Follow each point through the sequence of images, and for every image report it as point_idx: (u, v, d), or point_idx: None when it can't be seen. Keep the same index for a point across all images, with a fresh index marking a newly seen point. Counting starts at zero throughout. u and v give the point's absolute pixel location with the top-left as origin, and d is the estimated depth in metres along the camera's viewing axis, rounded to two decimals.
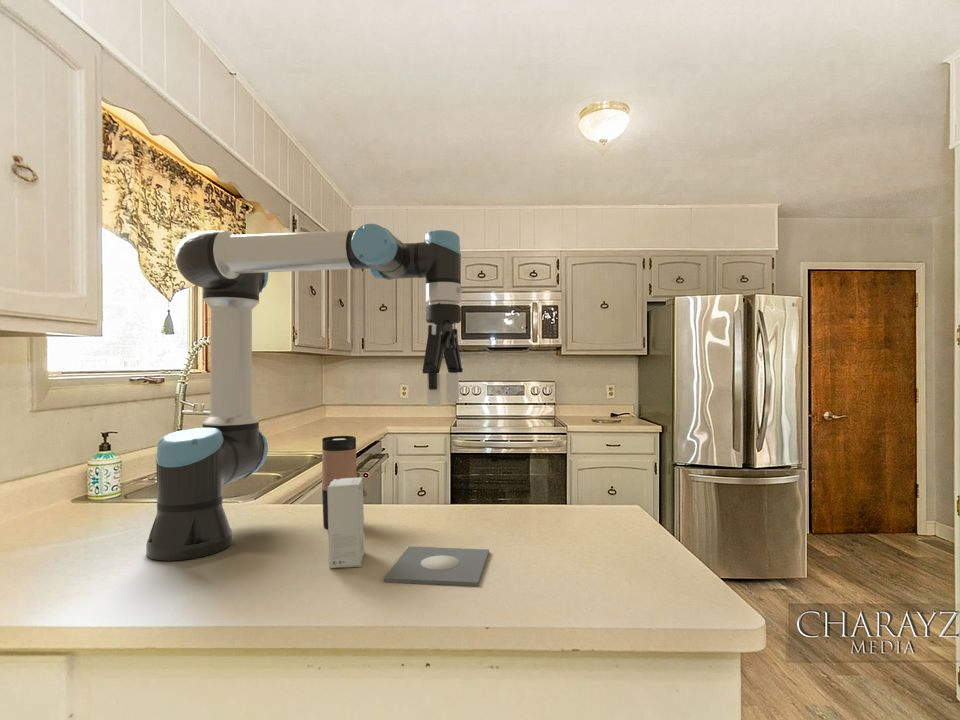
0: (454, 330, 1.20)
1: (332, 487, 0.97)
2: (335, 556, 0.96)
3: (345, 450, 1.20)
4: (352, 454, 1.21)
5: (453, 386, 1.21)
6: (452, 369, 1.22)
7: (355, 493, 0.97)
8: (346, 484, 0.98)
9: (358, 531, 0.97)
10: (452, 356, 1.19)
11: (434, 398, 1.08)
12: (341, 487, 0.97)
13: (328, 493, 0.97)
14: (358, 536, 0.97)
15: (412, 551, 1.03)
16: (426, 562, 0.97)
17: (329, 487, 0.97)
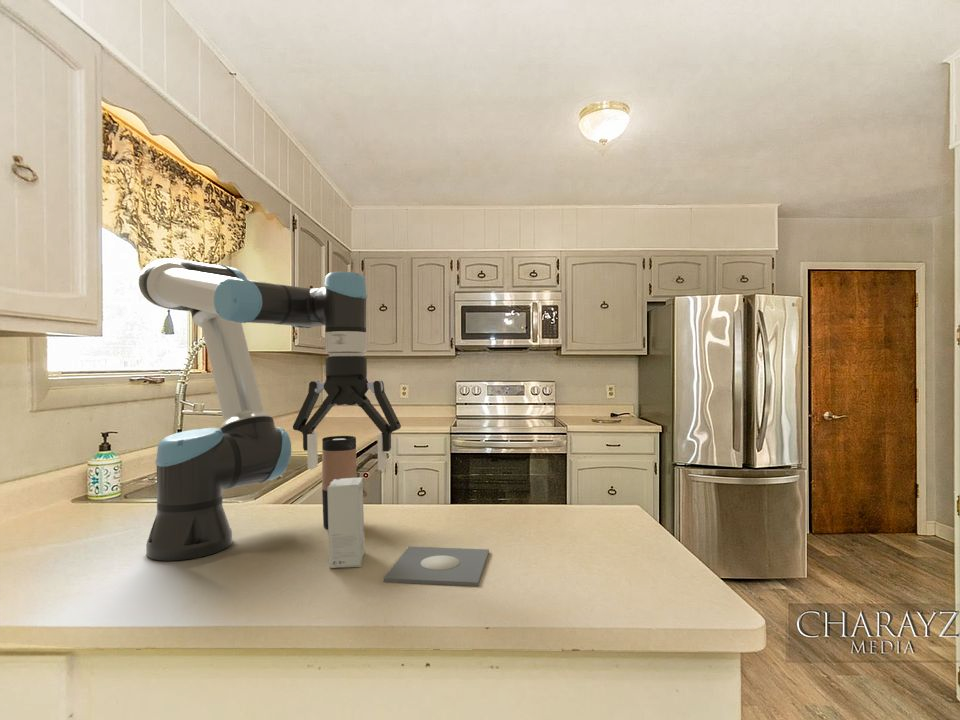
0: None
1: (332, 487, 0.97)
2: (335, 556, 0.96)
3: (345, 450, 1.20)
4: (352, 454, 1.21)
5: None
6: None
7: (355, 493, 0.97)
8: (346, 484, 0.98)
9: (358, 531, 0.97)
10: None
11: None
12: (341, 487, 0.97)
13: (328, 493, 0.97)
14: (358, 536, 0.97)
15: (412, 551, 1.03)
16: (426, 562, 0.97)
17: (329, 487, 0.97)
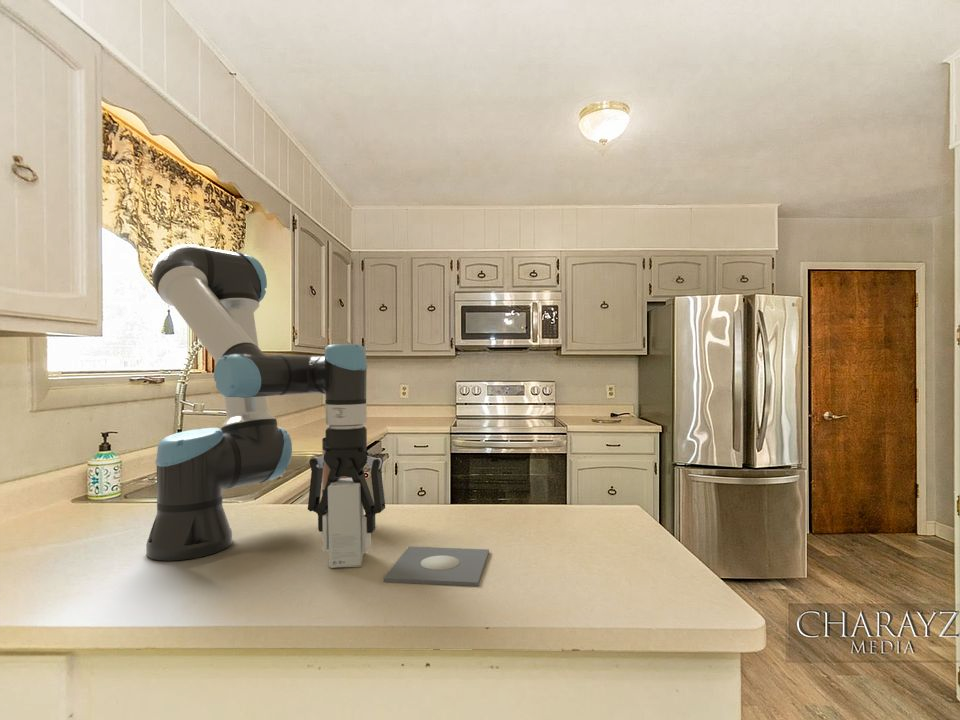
0: (374, 460, 0.99)
1: (332, 487, 0.97)
2: (335, 556, 0.96)
3: None
4: None
5: None
6: None
7: (356, 493, 0.97)
8: (346, 484, 0.98)
9: (358, 531, 0.97)
10: None
11: None
12: (341, 487, 0.97)
13: (328, 493, 0.97)
14: (358, 536, 0.97)
15: (412, 551, 1.03)
16: (426, 562, 0.97)
17: (329, 487, 0.97)
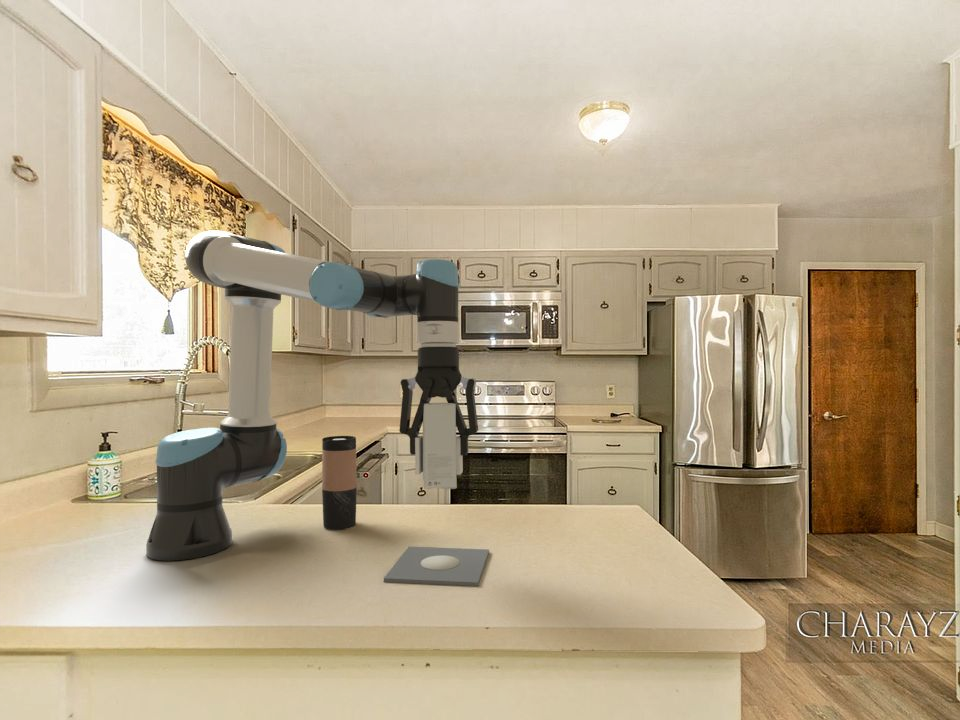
0: (469, 380, 0.96)
1: (429, 405, 0.93)
2: (431, 477, 0.93)
3: (345, 450, 1.20)
4: (352, 454, 1.21)
5: None
6: None
7: (452, 412, 0.94)
8: (442, 403, 0.94)
9: (454, 452, 0.94)
10: None
11: None
12: (437, 406, 0.94)
13: (424, 411, 0.93)
14: (454, 457, 0.94)
15: (412, 551, 1.03)
16: (426, 562, 0.97)
17: (426, 405, 0.93)
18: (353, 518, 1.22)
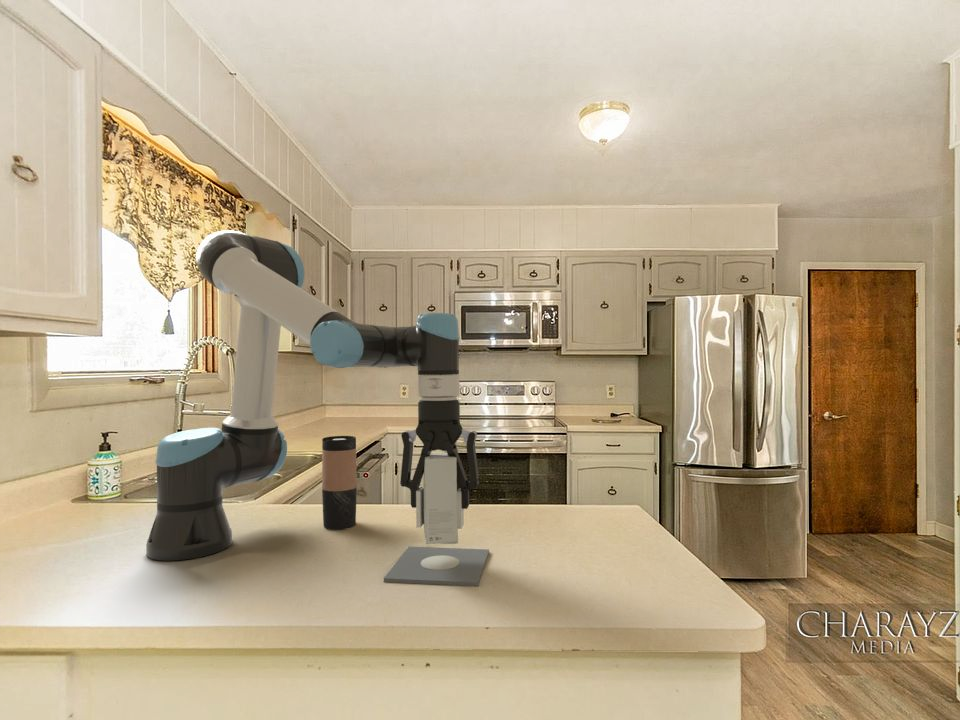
0: (469, 433, 0.96)
1: (430, 460, 0.93)
2: (432, 532, 0.93)
3: (344, 450, 1.20)
4: (352, 454, 1.21)
5: None
6: None
7: (453, 467, 0.94)
8: (443, 458, 0.94)
9: (455, 507, 0.93)
10: None
11: None
12: (438, 461, 0.93)
13: (425, 466, 0.93)
14: (455, 512, 0.93)
15: (412, 551, 1.03)
16: (426, 562, 0.97)
17: (426, 460, 0.93)
18: (353, 518, 1.22)
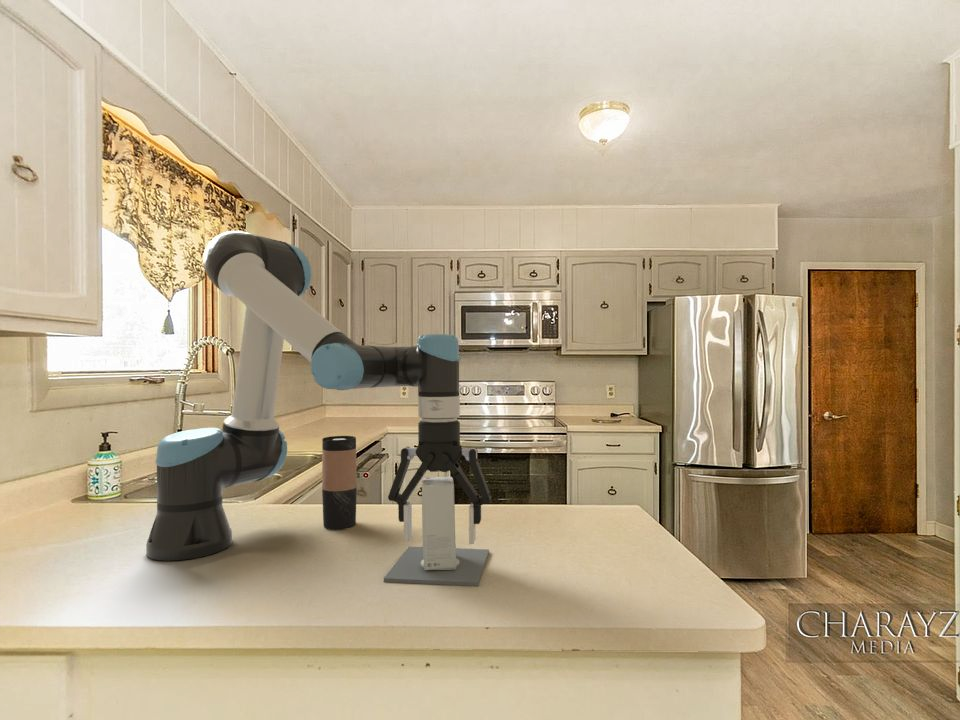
0: (469, 451, 0.96)
1: (427, 486, 0.93)
2: (430, 558, 0.93)
3: (345, 450, 1.20)
4: (353, 454, 1.21)
5: None
6: None
7: (450, 493, 0.94)
8: (440, 483, 0.94)
9: (453, 532, 0.93)
10: None
11: None
12: (436, 487, 0.93)
13: (423, 492, 0.93)
14: (453, 537, 0.93)
15: (412, 551, 1.03)
16: None
17: (424, 486, 0.93)
18: (353, 518, 1.22)
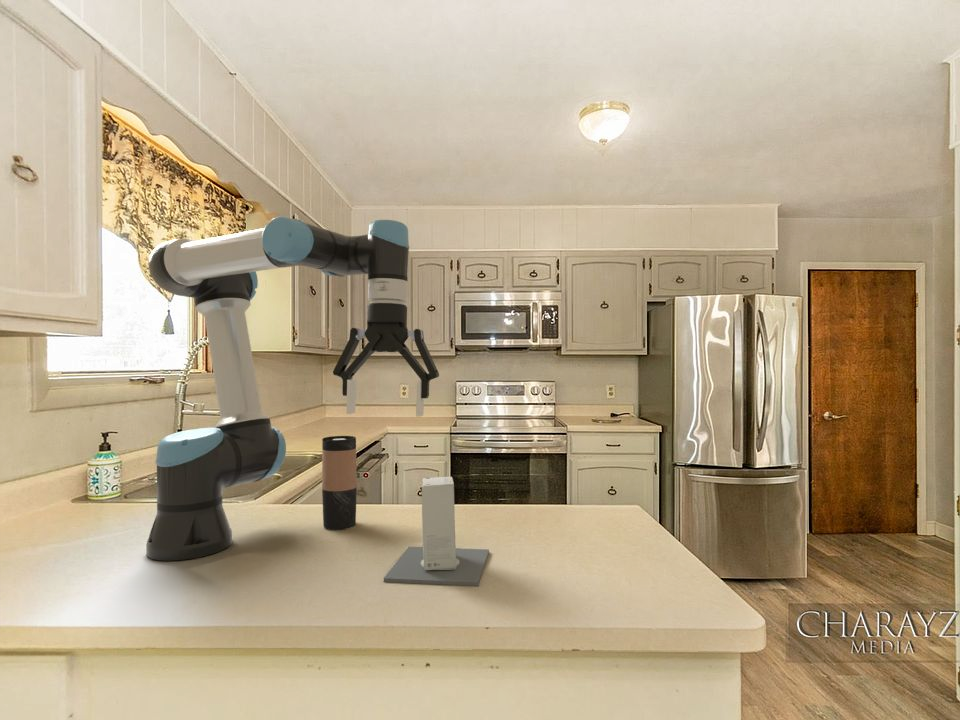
0: None
1: (427, 486, 0.93)
2: (430, 558, 0.93)
3: (345, 450, 1.20)
4: (352, 454, 1.21)
5: None
6: None
7: (450, 493, 0.94)
8: (440, 483, 0.94)
9: (453, 532, 0.93)
10: None
11: None
12: (435, 487, 0.93)
13: (422, 493, 0.93)
14: (453, 538, 0.93)
15: (412, 551, 1.03)
16: None
17: (423, 486, 0.93)
18: (353, 518, 1.22)
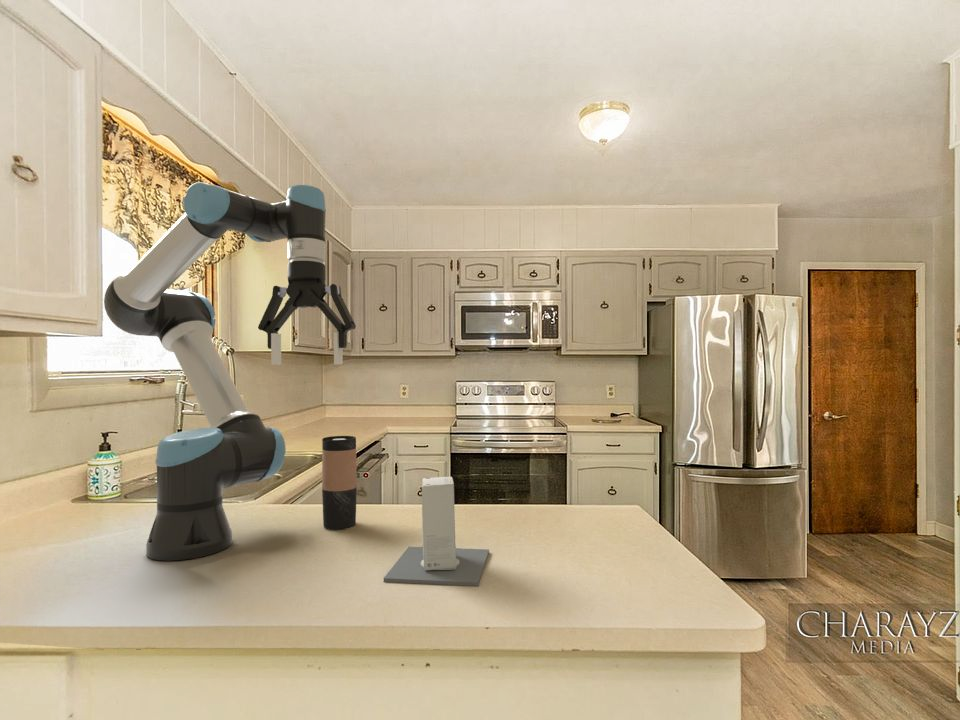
0: None
1: (427, 486, 0.93)
2: (430, 558, 0.93)
3: (345, 450, 1.20)
4: (352, 454, 1.21)
5: None
6: None
7: (450, 493, 0.94)
8: (440, 483, 0.94)
9: (453, 532, 0.93)
10: None
11: None
12: (435, 487, 0.93)
13: (422, 493, 0.93)
14: (453, 538, 0.93)
15: (412, 551, 1.03)
16: None
17: (423, 486, 0.93)
18: (353, 518, 1.22)
